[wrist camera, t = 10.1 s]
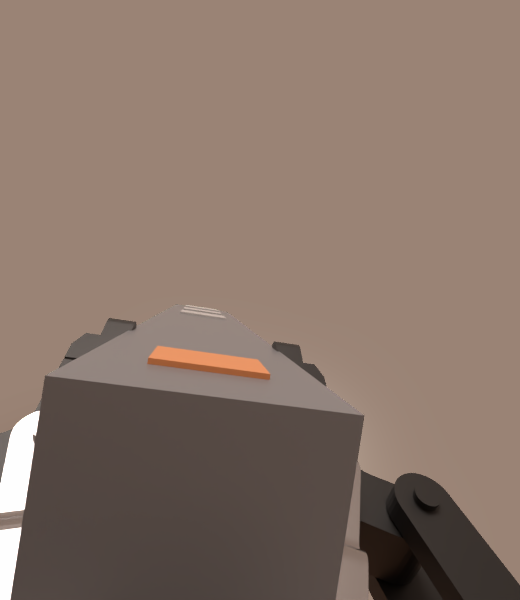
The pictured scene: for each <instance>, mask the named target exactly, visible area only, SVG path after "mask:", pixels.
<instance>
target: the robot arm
mask: <svg viewBox="0 0 520 600" xmlns="http://www.w3.org/2000/svg"><path fill="white" fill-rule="evenodd" d="M134 329H136V322H132V321H126V320H119V319H112V318H109V319H108V321H107V323H106V325H105V327H104V329H103V331H102V333H101V335H96V334H89V333H86V334H84V335H83V336H82V337H80V338H79V339H77V340H76V341H75V342H73V343H72V344H71V346H70V348H69V350H68V352H67V354H66V355H65V358H64V359H63V361H62V363H61V365H60V367H62V366H64V365H66V364H67V363H69V362H71V361H73V360H75V359H77V358H79V357H80V356H82V355H84V354H86V353H88V352H90V351H91V350H93V349H95V348H97V347H99V346H101V345H102V344H104V343H106V342H108V341H110V340H112V339H114V338H115V337H117V336H119V335H121V334H123V333H125V332H126V331H128V330H130V331H132V330H134ZM272 348H273V349H275V350H276V351H278V352H281V353H282V354H283V355H285V356H286V357H287V358H289V359H290V360H291V361H293V362H294V363H295V364H297V365H298V366H299V367H301V368H302V369H303V370H305V371H306V372H307V373H309V374H310V375H311V376H313V377H314V378H315V379H317V380H318V381H319V382H321V383H322V384H323V385H325V386H326V383H325V379H324V376H323V375H322V374H321V373H320V371H319V370H318V369H317V367H316V366H315V365H314V364H307V363H303V361H302V356H301V351H300V347H299V345H294V344H287V343H280V342H274V343H273V345H272ZM60 367H59V368H60ZM40 405H41V401H40V403H39V405H38V407H37V408H36V410H35V412H34V413H32V414H30V415H28V416H26V417H25V418H23V419H22V420H21V421H19V422H18V424H17V425H16V426H15V427H14V429H12V430H9V431H6V432H4V433H0V600H10V596H11V590H12V583H13V577H14V571H15V564H16V558H17V552H18V545H19V539H20V533H21V526H22V520H23V513H24V507H25V501H26V494H27V488H28V482H29V475H30V469H31V463H32V456H33V450H34V444H35V437H36V431H37V424H38V418H39V412H40ZM368 589H369V591H370V593H371V595H372V597H373V599H374V600H520V585H519V584H518V582H517V581H516V580H515V579H514V577H513V576H512V575H511V573H510V572H509V571H508V570H507V568H506V567H505V566H504V564H503V563H502V562H501V561H500V559H499V558H498V557H497V556H496V554H495V553H494V552H493V550H492V549H491V548H490V547H489V545H488V544H487V543H486V542H485V540H484V539H483V538H482V536H481V535H480V534H479V533H478V531H477V530H476V529H475V527H474V526H473V525H472V524H471V522H470V521H469V520H468V518H467V517H466V516H465V515H464V513H463V512H462V511H461V510H460V508H459V507H458V506H457V505H456V503H455V502H454V501H453V500H452V498H451V497H450V495H449V494H448V493H447V492H446V491H445V490H444V489H443V488H442V487H441V486H440V485H439V484H438V483H436V482H435V481H433V480H432V479H430V478H428V477H426V476H423V475H420V474H416V473H408V474H404V475H402V476H400V477H399V478H398V479H397V480H396V482H395V484H392V483H390V482H388V481H385V480H382V479H380V478H377V477H375V476H372V475H370V474H368V473H366V472H364V471H362V470H360V466H359V463H358V461H357V466H356V472H355V479H354V485H353V491H352V498H351V504H350V511H349V517H348V524H347V530H346V536H345V543H344V549H343V556H342V562H341V568H340V575H339V581H338V588H337V594H336V600H368Z"/></svg>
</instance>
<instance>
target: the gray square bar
mask: <svg viewBox="0 0 520 600" xmlns="http://www.w3.org/2000/svg"><path fill="white" fill-rule="evenodd" d="M363 421H364V415H363V414H362V413H360V412H359V411H358V410H356V409H355V408H354V407H352V406H351V405H350V404H348V403H347V402H346V401H344V400H343V399H341V398H340V397H339V396H338V395H336V394H335V393H334V392H333V391H331V390H330V389H328V388H327V387H326V386H325V385H323V384H322V383H321V382H319V381H318V380H317V379H315V378H314V377H313V376H311V375H310V374H309V373H307V372H306V371H305V370H303V369H302V368H301V367H299V366H298V365H297V364H295V363H294V362H293V361H291V360H290V359H289V358H287V357H286V356H285V355H283V354H282V353H281V352H278V351H276V350H275V349H273V348H272V346H271V345H270V344H269V343H267V342H266V341H265V340H264V339H262V338H261V337H259V336H258V335H257V334H256V333H254V332H253V331H251V330H250V329H249V328H248V327H246V326H245V325H244V324H242V323H241V322H240V321H238V320H237V319H236V318H234V317H233V316H232V315H230V314H229V313H228V312H224V311H218V310H217V309H210V308H203V307H197V306H191V305H186V306H184V305H178V304H176V305H174V306H173V307H171V308H169V309H167V310H165V311H163V312H161V313H160V314H158V315H156V316H154V317H152V318H151V319H149V320H147V321H145V322H143V323H141V324H140V325H138V326H136V329H134V330H132V331H130V330H128V331H126V332H125V333H123V334H121V335H119V336H117V337H115V338H114V339H112V340H110V341H108V342H106V343H104V344H102V345H101V346H99V347H97V348H95V349H93V350H91V351H90V352H88V353H86V354H84V355H82V356H80V357H79V358H77V359H75V360H73V361H71V362H69V363H67V364H66V365H64V366H62V367H60V368H58V369H56V370H55V371H53V372H51V373H49V374H47V375H46V376H45V380H44V387H43V393H42V399H41V405H40V412H39V418H38V424H37V431H36V437H35V444H34V450H33V456H32V463H31V469H30V475H29V482H28V488H27V494H26V501H25V507H24V513H23V520H22V526H21V533H20V539H19V545H18V552H17V558H16V564H15V571H14V577H13V583H12V590H11V596H10V600H336V594H337V588H338V581H339V575H340V568H341V562H342V556H343V549H344V543H345V536H346V530H347V524H348V517H349V511H350V504H351V498H352V491H353V485H354V479H355V472H356V466H357V459H358V453H359V446H360V440H361V434H362V427H363Z"/></svg>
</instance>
